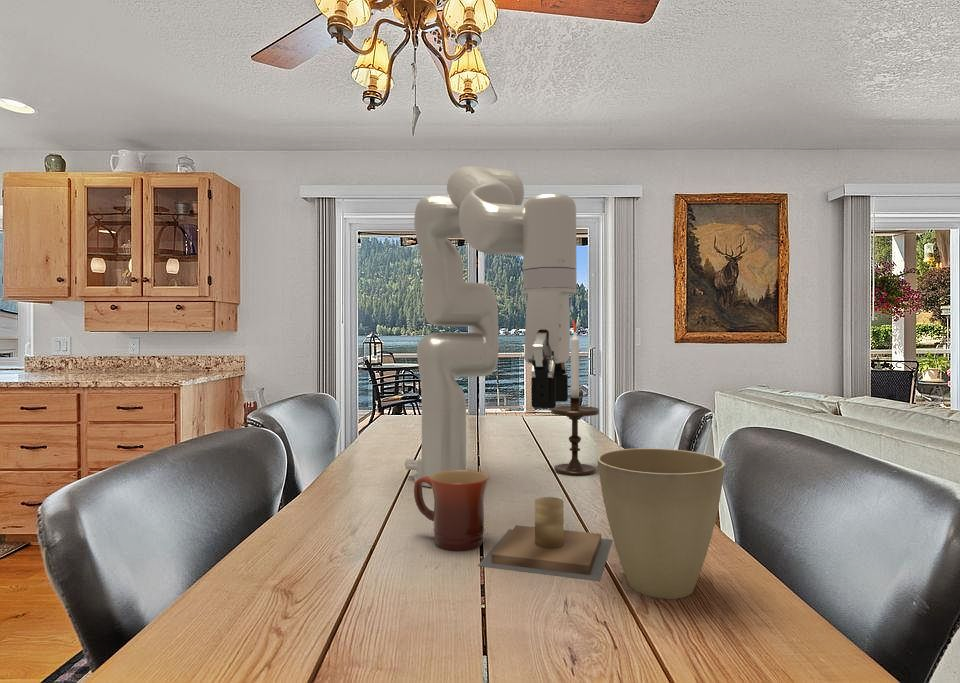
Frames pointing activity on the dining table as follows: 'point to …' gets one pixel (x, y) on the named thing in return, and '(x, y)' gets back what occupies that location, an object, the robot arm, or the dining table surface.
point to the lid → (549, 543)
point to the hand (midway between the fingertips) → (550, 404)
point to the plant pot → (661, 515)
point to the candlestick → (575, 416)
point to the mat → (594, 574)
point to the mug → (455, 508)
